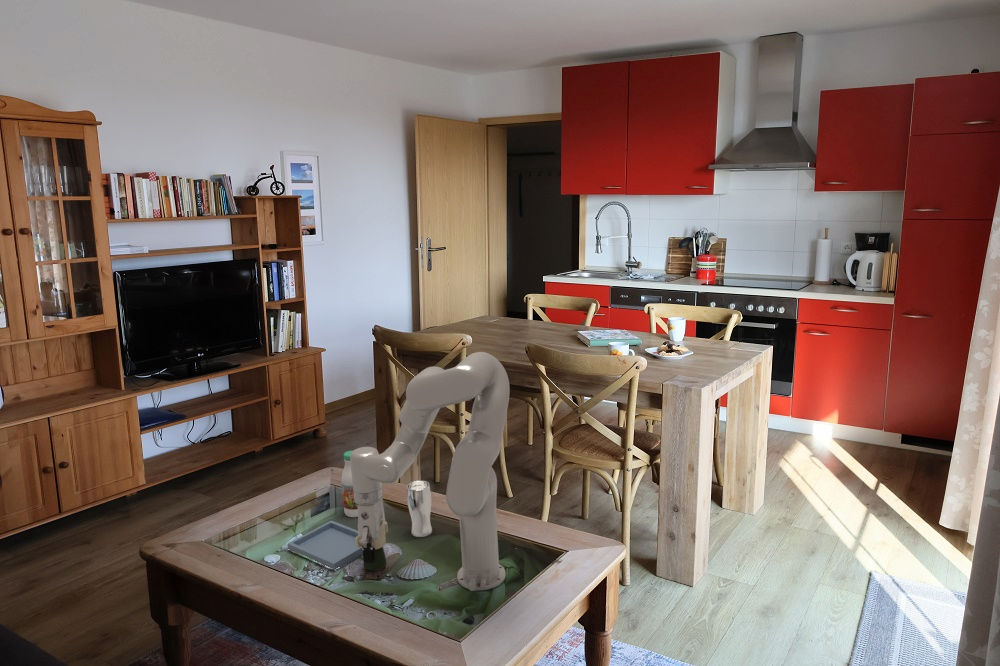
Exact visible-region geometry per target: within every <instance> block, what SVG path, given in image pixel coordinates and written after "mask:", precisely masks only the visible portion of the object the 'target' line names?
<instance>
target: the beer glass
mask: <svg viewBox="0 0 1000 666" xmlns="http://www.w3.org/2000/svg"><path fill="white" fill-rule="evenodd" d="M406 499H407V500H406V501H407V507H408V512H409V515H410V519H411V535H412V536H413V537H416V538H425V537H428V536H430V535H431V534H432V533H433V528H432V525H431V512H432V511H431V509H432V493H431V487H430V483H429V481H427V480H414V481H411V482H409V483H407V485H406Z"/></svg>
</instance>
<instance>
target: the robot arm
mask: <svg viewBox="0 0 1000 666" xmlns="http://www.w3.org/2000/svg"><path fill="white" fill-rule="evenodd" d="M510 394H511V393H510V380H509V376H508V373H507V370H506V369H505V367H504V365H503V364H502V363H501V362H500V361H499V359H497V358H496V357H495V356H494V355H492V354H490V353H488V352H485V351H476V352H472V353H471V354H469V355H467V356H466V357H465V358H463V359H462V360H461V361H460V362H459V363H458V364H457V365H456V366H454V367H451V368H447V369H444V368H442V367H440V366H429V367H426V368H425V369H423V370H422V371H420V372H419V373H417V375H415V376H414V377H413V378H411V380H410V381H409V382H408V383H407V386H406V390H405V396H406V397H405V398H406V400H405V402H404V403H403V406H402V408H401V410H400V411H399V415H398V418H399V419H398V420H399V421H400V423H401V424H400V425H401V426H400V428H399V430H398V432H397V433H396V436H395V437H394V438H395V439H394V440H393V442H392V443H391V445H390V446H389V447H387V448H386V449H385V450H384V451H383V452H381V453H379V451H378V449H377V448H375V447H372V446H361V447H357V448H356V449H354V450H352V451H353V452H352V453H351V455H350V463H351V473H352V482H353V492H354V501H355V503H357V504H358V517H357V522H358V523H357V526H358V525H359V534H360V538H361V544H362V550H363V555H362V558H363V560H364V563H375V562H376V555H375V548H373V546H374V539H378V538H379V537H380V528H379V527H380V525H381V524H382V520H384V525H385V522H386V516H385V508H384V502H383V499H384V494H383V486H382V485H383V484H393V483H396V482H397V481H398V480H399V479H400V478H401V477H402V476H403V475H404V474H405V473H406V471H407V470H408V469H409V468H410V467H411V466H412V465H413V463H414V461H416V458H418V457H417V456H418V455H419V453H420V451H421V450H422V447H423V445H424V444H425V441H426V439H427V436H428V434H429V432H430V429H431V427H432V425H433V423H434V421H435V419H436V417H437V416H438V413H439V411H440V409H442V408H445V407H449V406H453V405H456V404H460V403H463V402H466V401H471V400H473V399H474V401H473V404H472V408H471V413H470V414H471V416H470V420H469V425H468V429H467V431H466V433H465V434H464V436H463V437H462V439H461V440H460V442H458V443H457V445H456V447H455V449H454V451H453V454H452V457H451V464H450V468H449V474H448V480H447V484H446V490H445V491H446V492H445V499H446V504H447V505H448V508H449V509H450V511H451V512H452V513H453V514H455V515H456V516H458V517H459V535H460V536H459V537H460V549H461V563H462V566H461V567H460V568H459V570H458V571H457V574H456V580H457V582H458V583H459V585H460V586H462V587H463V588H465V589H467V590H469V591H470V592H475V591H488V590H491V589H494V588H496V587H498V586H500V585H501V584H503V582H504V581H505V580H506V569H505V567H504V566H503V565H501V564H500V561H499V542H498V540H499V539H498V519H497V518H498V517H497V494H498V493H497V492H498V480H497V473H496V472H495V470H494V468H493V465H494V462H496V460H497V459H498V456H499V455H500V452H501V448H502V441H503V435H504V430H505V425H506V418H507V415H508V413H507V412H508V407H509V401H510ZM368 533H370V535H371V537H368ZM367 540H371V545H370V544H369V543H368V541H367Z"/></svg>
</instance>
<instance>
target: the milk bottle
mask: <svg viewBox="0 0 1000 666" xmlns="http://www.w3.org/2000/svg"><path fill="white" fill-rule="evenodd" d="M353 451H354V450H348V451H345V452H344V453H343V461H344V467H343V470H342V473H341V480H340V483H341V493H342V494H341V495H342V501H343V503H342V504H343V510H344V515H345V516H347V517H349V518H358V504H357V503H355V501H354V492H353V482H352V473H351V463H350V455H351V453H352V452H353Z"/></svg>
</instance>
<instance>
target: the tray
mask: <svg viewBox="0 0 1000 666" xmlns="http://www.w3.org/2000/svg"><path fill="white" fill-rule="evenodd" d="M357 536H358V529H354V528H352V527H350V526H347V525H344V524H341V523H339V522H336V521H334V520H330V521H328V522H327V521H326V523H324V524H322V525H320V526H318V527H316V528H314V529H312V530H311V531H308V532H307V533H305V534H303V535H301V536H299V537H297V538H295V539H293V540H291V541H289V542H288V543H287V550H288V549H290V550H292V551H295V552H297V553H300V554H302V555H305V556H307V557H309V558H311V559H314V560H315V561H317V562H320V563H322V564H324V565H326V566H328V567H330V568H333V569H336V568H338V567H341V566H343V565H345V564H347V565H349V564H351V563H352V562H354V561H356V560H357V559H359V558H360V557H363V550H362V547H360V548H357V547H356V541H355V538H356V537H357ZM350 562H351V563H350ZM348 563H349V564H348Z"/></svg>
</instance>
